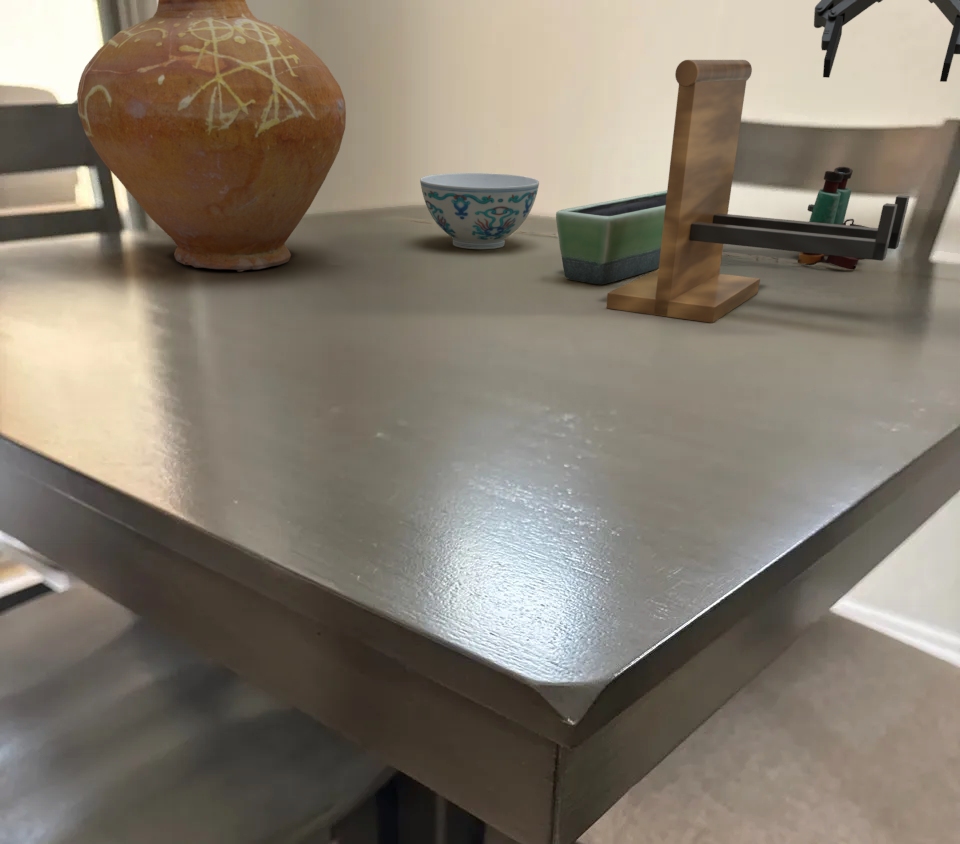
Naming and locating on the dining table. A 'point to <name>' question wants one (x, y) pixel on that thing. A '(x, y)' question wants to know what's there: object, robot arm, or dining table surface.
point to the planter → (612, 238)
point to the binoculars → (832, 214)
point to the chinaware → (479, 206)
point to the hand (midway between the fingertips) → (884, 70)
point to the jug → (214, 128)
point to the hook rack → (726, 209)
